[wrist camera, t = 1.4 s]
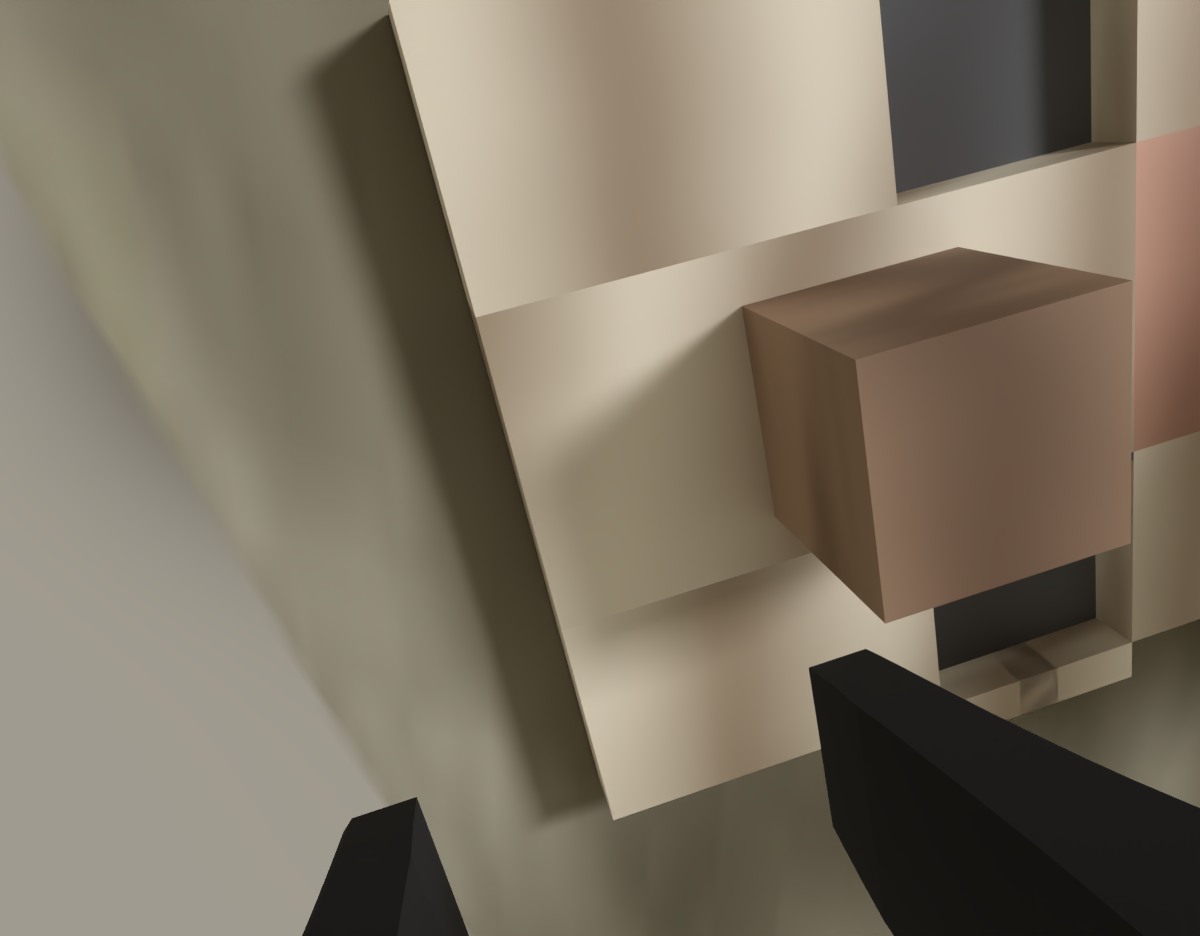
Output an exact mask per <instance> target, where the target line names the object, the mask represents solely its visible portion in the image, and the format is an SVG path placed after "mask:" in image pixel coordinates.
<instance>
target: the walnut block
mask: <svg viewBox="0 0 1200 936" xmlns="http://www.w3.org/2000/svg"><path fill="white" fill-rule="evenodd" d="M1132 285H1133V280H1128V279H1123V278H1117V277H1112V276H1107V275H1102V274H1097V273H1091V272H1086V271H1081V270H1076V269H1071V268H1065V267H1060V266H1055V265H1050V264H1044V263H1039V262H1034V261H1029V260H1024V259H1018V258H1013V257H1008V256H1003V255H998V254H992V253H987V252H982V251H977V250H972V249H966V248H961V247H956V248H952V249H948V250H945V251H941V252H937V253H934V254H930V255H926V256H923V257H919V258H916V259H912V260H908V261H905V262H901V263H897V264H894V265H890V266H886V267H883V268H879V269H875V270H872V271H868V272H864V273H861V274H857V275H853V276H850V277H846V278H842V279H839V280H835V281H831V282H828V283H824V284H821V285H817V286H813V287H810V288H806V289H802V290H799V291H795V292H791V293H788V294H784V295H780V296H777V297H773V298H769V299H766V300H762V301H758V302H755V303H751V304H747V305H744V306H742V311H743V318H744V324H745V330H746V337H747V343H748V349H749V355H750V362H751V368H752V374H753V380H754V387H755V393H756V399H757V406H758V412H759V418H760V424H761V431H762V437H763V443H764V450H765V456H766V462H767V468H768V475H769V481H770V487H771V494H772V500H773V506H774V512H775V517H776V518H777V519H778V520H779V521H780V522H781V523H782V524H783V525H784V526H785V527H786V528H787V529H788V530H789V531H790V532H791V533H792V534H793V535H794V536H795V537H796V538H797V539H798V540H799V541H800V542H801V543H803V544H804V545H805V546H806V547H807V548H808V549H809V550H810V551H811V552H812V553H813V554H814V555H815V556H816V557H817V558H818V559H819V560H820V561H821V562H822V563H823V564H824V565H825V566H826V567H827V568H828V569H829V570H830V571H831V572H832V573H833V574H835V575H836V576H837V577H838V578H839V579H840V580H841V581H842V582H843V583H844V584H845V585H846V586H847V587H848V588H849V589H850V590H851V591H852V592H853V593H854V594H855V595H856V596H857V597H858V598H859V599H860V600H861V601H862V602H863V603H864V604H865V605H867V606H868V607H869V608H870V609H871V610H872V611H873V612H874V613H875V614H876V615H877V616H878V617H879V618H880V619H881V620H882V621H883V622H884V623H885V624H886V623H889V622H892V621H895V620H898V619H901V618H904V617H907V616H910V615H913V614H916V613H919V612H922V611H925V610H929V609H932V608H935V607H938V606H941V605H944V604H947V603H950V602H953V601H956V600H959V599H962V598H965V597H968V596H971V595H974V594H977V593H980V592H983V591H987V590H990V589H993V588H996V587H999V586H1002V585H1005V584H1008V583H1011V582H1014V581H1017V580H1020V579H1023V578H1026V577H1029V576H1032V575H1035V574H1038V573H1041V572H1045V571H1048V570H1051V569H1054V568H1057V567H1060V566H1063V565H1066V564H1069V563H1072V562H1075V561H1078V560H1081V559H1084V558H1087V557H1090V556H1093V555H1096V554H1099V553H1103V552H1106V551H1109V550H1112V549H1115V548H1118V547H1121V546H1124V545H1127V544H1130V543H1131V417H1132Z"/></svg>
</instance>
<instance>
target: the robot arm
mask: <svg viewBox="0 0 1200 936" xmlns="http://www.w3.org/2000/svg"><path fill="white" fill-rule="evenodd" d="M809 674H810V680H811V687H812V693H813V700H814V706H815V713H816V719H817V726H818V732H819V739H820V745H821V752H822V758H823V764H824V771H825V777H826V784H827V790H828V797H829V803H830V810H831V816H832V823H833V827H834V829H835V831H836V833H837V835H838V837H839V838H840V840H841V842H842V844H843V846H844V848H845V850H846V852H847V854H848V855H849V857H850V859H851V861H852V863H853V865H854V867H855V869H856V871H857V872H858V874H859V876H860V878H861V880H862V882H863V884H864V885H865V887H866V889H867V891H868V893H869V894H870V896H871V898H872V900H873V902H874V903H875V905H876V907H877V909H878V911H879V912H880V914H881V916H882V918H883V920H884V922H885V923H886V924H887V926H888V927H889V929H890V930H891V932H892V933H893V935H894V936H1200V808H1198V807H1196V806H1193V805H1191V804H1189V803H1186V802H1184V801H1181V800H1179V799H1177V798H1174V797H1172V796H1170V795H1167V794H1165V793H1163V792H1160V791H1158V790H1156V789H1153V788H1151V787H1148V786H1146V785H1144V784H1141V783H1139V782H1137V781H1134V780H1132V779H1130V778H1127V777H1125V776H1123V775H1121V774H1119V773H1116V772H1114V771H1112V770H1110V769H1108V768H1105V767H1103V766H1101V765H1099V764H1097V763H1094V762H1092V761H1090V760H1088V759H1085V758H1083V757H1081V756H1079V755H1077V754H1075V753H1073V752H1071V751H1068V750H1066V749H1064V748H1062V747H1060V746H1058V745H1056V744H1054V743H1052V742H1050V741H1047V740H1045V739H1043V738H1041V737H1039V736H1037V735H1035V734H1033V733H1031V732H1029V731H1027V730H1025V729H1023V728H1021V727H1019V726H1017V725H1015V724H1013V723H1011V722H1009V721H1007V720H1005V719H1003V718H1001V717H999V716H997V715H995V714H993V713H991V712H989V711H987V710H985V709H983V708H981V707H979V706H977V705H975V704H973V703H971V702H969V701H967V700H965V699H963V698H961V697H959V696H957V695H955V694H953V693H951V692H949V691H948V690H946V689H944V688H942V687H940V686H938V685H936V684H934V683H932V682H930V681H928V680H926V679H924V678H923V677H921V676H919V675H917V674H915V673H913V672H911V671H909V670H907V669H905V668H903V667H901V666H899V665H897V664H896V663H894V662H892V661H890V660H888V659H886V658H884V657H882V656H880V655H878V654H876V653H874V652H872V651H869V650H867V649H864V650H861V651H857V652H854V653H851V654H848V655H845V656H842V657H839V658H836V659H833V660H830V661H827V662H824V663H821V664H818V665H815V666H812V667H809ZM302 936H469V935H468V932H467V930H466V927H465V924H464V922H463V919H462V916H461V914H460V911H459V908H458V906H457V903H456V900H455V898H454V895H453V892H452V890H451V887H450V884H449V882H448V879H447V876H446V874H445V871H444V869H443V866H442V863H441V861H440V858H439V855H438V853H437V850H436V847H435V845H434V842H433V839H432V837H431V834H430V831H429V829H428V826H427V823H426V821H425V818H424V816H423V813H422V810H421V808H420V805H419V802H418V800H417V797H416V798H413V799H410V800H407V801H404V802H400V803H397V804H394V805H391V806H388V807H385V808H382V809H379V810H376V811H374V812H370V813H367V814H364V815H361V816H358V817H355V818H352V819H351V821H350V823H349V824H348V826H347V828H346V829H345V831H344V832H343V835H342V838H341V840H340V843H339V845H338V848H337V851H336V853H335V856H334V858H333V861H332V864H331V866H330V869H329V871H328V874H327V877H326V879H325V882H324V884H323V886H322V889H321V891H320V894H319V896H318V899H317V901H316V904H315V906H314V909H313V911H312V914H311V916H310V918H309V921H308V924H307V926H306V928H305V931H304V933H303V935H302Z"/></svg>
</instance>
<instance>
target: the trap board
mask: <svg viewBox="0 0 1200 936" xmlns="http://www.w3.org/2000/svg"><path fill="white" fill-rule="evenodd" d="M388 14H389V18H390V21H391V25H392V28H393V32H394V36H395V39H396V43H397V47H398V50H399V54H400V58H401V61H402V65H403V68H404V72H405V76H406V79H407V83H408V87H409V90H410V94H411V97H412V101H413V105H414V108H415V112H416V116H417V119H418V123H419V126H420V130H421V134H422V137H423V141H424V145H425V148H426V152H427V155H428V159H429V163H430V166H431V170H432V174H433V177H434V181H435V185H436V188H437V192H438V195H439V199H440V203H441V206H442V210H443V214H444V217H445V221H446V224H447V228H448V232H449V235H450V239H451V243H452V246H453V250H454V253H455V257H456V261H457V264H458V268H459V272H460V275H461V279H462V282H463V286H464V290H465V293H466V297H467V301H468V304H469V308H470V311H471V315H472V319H473V322H474V326H475V330H476V333H477V337H478V341H479V344H480V348H481V351H482V355H483V359H484V362H485V366H486V370H487V373H488V377H489V380H490V384H491V388H492V391H493V395H494V399H495V402H496V406H497V409H498V413H499V417H500V420H501V424H502V428H503V431H504V435H505V438H506V442H507V446H508V449H509V453H510V457H511V460H512V464H513V468H514V471H515V475H516V478H517V482H518V486H519V489H520V493H521V497H522V500H523V504H524V507H525V511H526V515H527V518H528V522H529V526H530V529H531V533H532V536H533V540H534V544H535V547H536V551H537V555H538V558H539V562H540V565H541V569H542V573H543V576H544V580H545V584H546V587H547V591H548V594H549V598H550V602H551V605H552V609H553V613H554V616H555V620H556V624H557V627H558V631H559V634H560V638H561V642H562V645H563V649H564V653H565V656H566V660H567V663H568V667H569V671H570V674H571V678H572V682H573V685H574V689H575V692H576V696H577V700H578V703H579V707H580V711H581V714H582V718H583V721H584V725H585V729H586V732H587V736H588V740H589V743H590V747H591V751H592V754H593V758H594V761H595V765H596V769H597V772H598V776H599V779H600V782H601V785H602V788H603V791H604V794H605V797H606V800H607V803H608V806H609V809H610V812H611V815H612V817H613V820H616V819H619V818H622V817H625V816H628V815H630V814H633V813H636V812H639V811H642V810H645V809H648V808H651V807H654V806H657V805H660V804H662V803H665V802H668V801H671V800H674V799H677V798H680V797H683V796H686V795H689V794H692V793H695V792H697V791H700V790H703V789H706V788H709V787H712V786H715V785H718V784H721V783H724V782H727V781H729V780H732V779H735V778H738V777H741V776H744V775H747V774H750V773H753V772H756V771H759V770H762V769H764V768H767V767H770V766H773V765H776V764H779V763H782V762H785V761H788V760H791V759H794V758H797V757H799V756H802V755H805V754H808V753H811V752H814V751H817V750H820V749H821V745H820V739H819V732H818V726H817V719H816V713H815V706H814V700H813V693H812V687H811V680H810V674H809V667H812V666H815V665H818V664H821V663H824V662H827V661H830V660H833V659H836V658H839V657H842V656H845V655H848V654H851V653H854V652H857V651H861V650H864V649H867V650H869V651H872V652H874V653H876V654H878V655H880V656H882V657H884V658H886V659H888V660H890V661H892V662H894V663H896V664H897V665H899V666H901V667H903V668H905V669H907V670H909V671H911V672H913V673H915V674H917V675H919V676H921V677H923V678H924V679H926V680H928V681H930V682H932V683H934V684H936V685H938V686H940V687H942V688H944V689H946V690H948V691H949V692H951V693H953V694H955V695H957V696H959V697H961V698H963V699H965V700H967V701H969V702H971V703H973V704H975V705H977V706H979V707H981V708H983V709H985V710H987V711H989V712H991V713H993V714H995V715H997V716H999V717H1001V718H1003V719H1005V720H1009V719H1011V718H1014V717H1017V716H1020V715H1023V714H1026V713H1029V712H1031V711H1034V710H1037V709H1040V708H1043V707H1046V706H1049V705H1052V704H1054V703H1057V702H1060V701H1063V700H1066V699H1069V698H1072V697H1075V696H1077V695H1080V694H1083V693H1086V692H1089V691H1092V690H1095V689H1097V688H1100V687H1103V686H1106V685H1109V684H1112V683H1115V682H1118V681H1120V680H1123V679H1126V678H1129V677H1132V642H1135V641H1137V640H1140V639H1143V638H1146V637H1149V636H1152V635H1155V634H1158V633H1161V632H1164V631H1167V630H1169V629H1172V628H1175V627H1178V626H1181V625H1184V624H1187V623H1190V622H1193V621H1196V620H1199V619H1200V0H390V1H389V8H388ZM956 247H961V248H966V249H972V250H977V251H982V252H987V253H992V254H998V255H1003V256H1008V257H1013V258H1018V259H1024V260H1029V261H1034V262H1039V263H1044V264H1050V265H1055V266H1060V267H1065V268H1071V269H1076V270H1081V271H1086V272H1091V273H1097V274H1102V275H1107V276H1112V277H1117V278H1123V279H1128V280H1133V285H1132V417H1131V543H1130V544H1127V545H1124V546H1121V547H1118V548H1115V549H1112V550H1109V551H1106V552H1103V553H1099V554H1096V555H1093V556H1090V557H1087V558H1084V559H1081V560H1078V561H1075V562H1072V563H1069V564H1066V565H1063V566H1060V567H1057V568H1054V569H1051V570H1048V571H1045V572H1041V573H1038V574H1035V575H1032V576H1029V577H1026V578H1023V579H1020V580H1017V581H1014V582H1011V583H1008V584H1005V585H1002V586H999V587H996V588H993V589H990V590H987V591H983V592H980V593H977V594H974V595H971V596H968V597H965V598H962V599H959V600H956V601H953V602H950V603H947V604H944V605H941V606H938V607H935V608H932V609H929V610H925V611H922V612H919V613H916V614H913V615H910V616H907V617H904V618H901V619H898V620H895V621H892V622H889V623H886V624H885V623H884V622H883V621H882V620H881V619H880V618H879V617H878V616H877V615H876V614H875V613H874V612H873V611H872V610H871V609H870V608H869V607H868V606H867V605H865V604H864V603H863V602H862V601H861V600H860V599H859V598H858V597H857V596H856V595H855V594H854V593H853V592H852V591H851V590H850V589H849V588H848V587H847V586H846V585H845V584H844V583H843V582H842V581H841V580H840V579H839V578H838V577H837V576H836V575H835V574H833V573H832V572H831V571H830V570H829V569H828V568H827V567H826V566H825V565H824V564H823V563H822V562H821V561H820V560H819V559H818V558H817V557H816V556H815V555H814V554H813V553H812V552H811V551H810V550H809V549H808V548H807V547H806V546H805V545H804V544H803V543H801V542H800V541H799V540H798V539H797V538H796V537H795V536H794V535H793V534H792V533H791V532H790V531H789V530H788V529H787V528H786V527H785V526H784V525H783V524H782V523H781V522H780V521H779V520H778V519H777V518H776V517H775V512H774V506H773V500H772V494H771V487H770V481H769V475H768V468H767V462H766V456H765V450H764V443H763V437H762V431H761V424H760V418H759V412H758V406H757V399H756V393H755V387H754V380H753V374H752V368H751V362H750V355H749V349H748V343H747V337H746V330H745V324H744V318H743V311H742V306H744V305H747V304H751V303H755V302H758V301H762V300H766V299H769V298H773V297H777V296H780V295H784V294H788V293H791V292H795V291H799V290H802V289H806V288H810V287H813V286H817V285H821V284H824V283H828V282H831V281H835V280H839V279H842V278H846V277H850V276H853V275H857V274H861V273H864V272H868V271H872V270H875V269H879V268H883V267H886V266H890V265H894V264H897V263H901V262H905V261H908V260H912V259H916V258H919V257H923V256H926V255H930V254H934V253H937V252H941V251H945V250H948V249H952V248H956Z"/></svg>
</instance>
